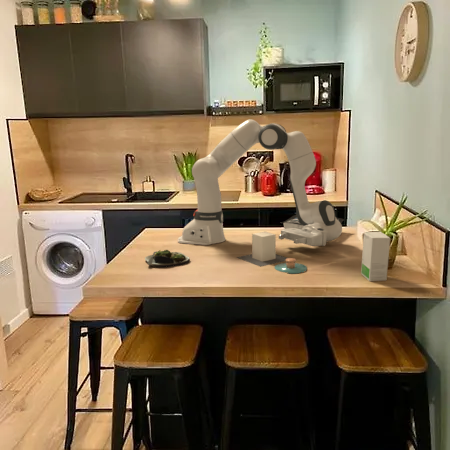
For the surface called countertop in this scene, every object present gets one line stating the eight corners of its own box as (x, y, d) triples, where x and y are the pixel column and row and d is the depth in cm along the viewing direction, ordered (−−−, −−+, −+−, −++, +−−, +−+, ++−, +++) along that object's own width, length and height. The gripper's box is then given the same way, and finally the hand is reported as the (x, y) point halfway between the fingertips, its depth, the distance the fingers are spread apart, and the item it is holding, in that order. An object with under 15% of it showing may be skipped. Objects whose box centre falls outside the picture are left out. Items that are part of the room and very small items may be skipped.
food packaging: (344, 218, 231) (328, 226, 213) (344, 232, 233) (327, 243, 214) (297, 213, 245) (278, 221, 226) (297, 227, 246) (278, 236, 228)
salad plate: (136, 258, 196) (136, 247, 195) (177, 252, 204) (176, 242, 203) (150, 270, 179) (149, 259, 178) (194, 264, 187) (193, 253, 186)
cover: (262, 261, 185) (262, 236, 183) (252, 257, 191) (252, 233, 189) (275, 258, 189) (275, 234, 187) (265, 255, 194) (265, 231, 192)
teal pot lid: (273, 273, 172) (273, 263, 172) (275, 263, 184) (275, 254, 183) (306, 274, 170) (306, 264, 169) (307, 264, 182) (307, 255, 181)
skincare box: (360, 274, 169) (362, 231, 166) (378, 273, 170) (380, 231, 166) (369, 281, 161) (371, 237, 158) (388, 280, 162) (390, 236, 158)
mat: (260, 267, 179) (260, 266, 179) (236, 258, 192) (236, 257, 192) (292, 260, 188) (292, 259, 188) (266, 251, 201) (266, 250, 201)
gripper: (294, 223, 211) (270, 227, 203) (328, 231, 194) (304, 236, 186) (294, 237, 212) (271, 242, 204) (328, 246, 195) (304, 251, 188)
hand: (287, 239), depth 195 cm, fingers open, 8 cm apart
